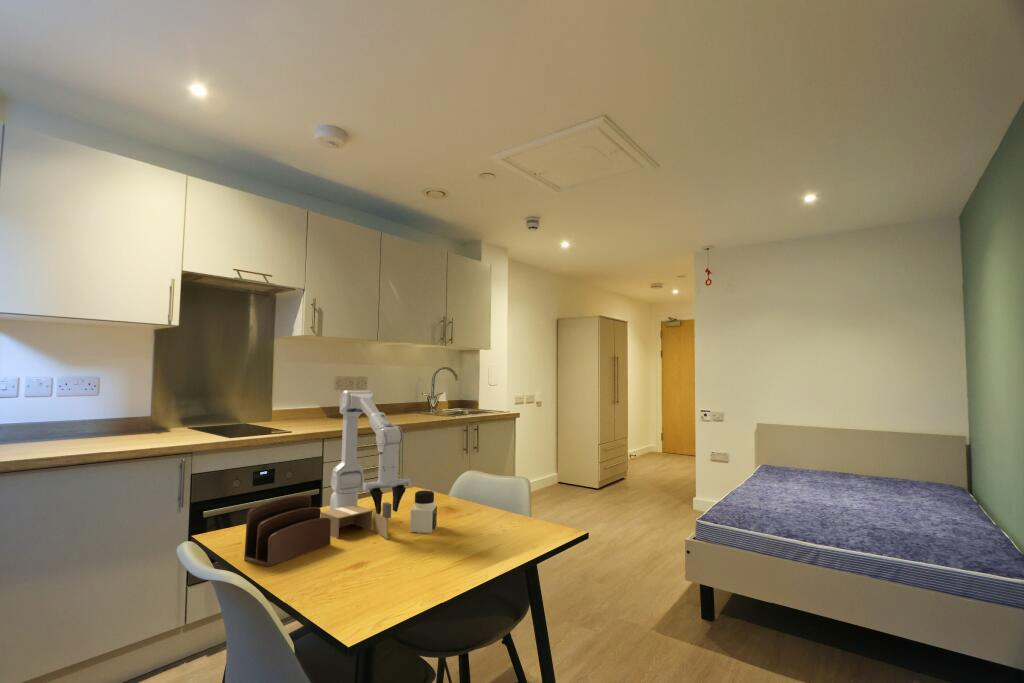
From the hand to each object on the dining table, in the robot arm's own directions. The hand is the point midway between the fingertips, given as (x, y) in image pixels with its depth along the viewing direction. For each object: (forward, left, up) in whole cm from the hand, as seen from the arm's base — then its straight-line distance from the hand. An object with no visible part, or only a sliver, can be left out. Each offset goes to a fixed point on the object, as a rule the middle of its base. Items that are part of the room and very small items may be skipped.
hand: (386, 512), depth 148 cm
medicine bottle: (+2, +13, -8) cm, 15 cm away
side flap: (-3, +1, -7) cm, 8 cm away
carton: (-15, -4, -7) cm, 17 cm away
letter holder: (-9, -25, -8) cm, 28 cm away
